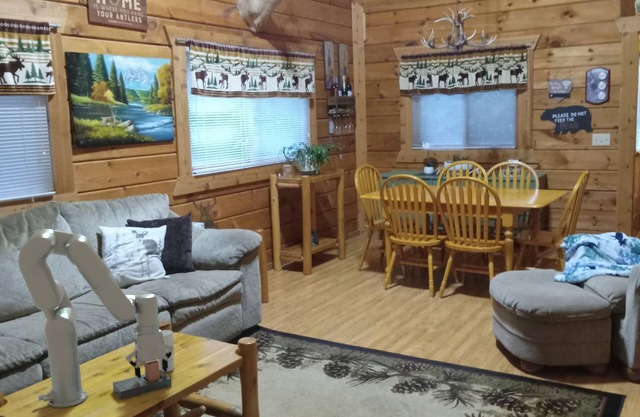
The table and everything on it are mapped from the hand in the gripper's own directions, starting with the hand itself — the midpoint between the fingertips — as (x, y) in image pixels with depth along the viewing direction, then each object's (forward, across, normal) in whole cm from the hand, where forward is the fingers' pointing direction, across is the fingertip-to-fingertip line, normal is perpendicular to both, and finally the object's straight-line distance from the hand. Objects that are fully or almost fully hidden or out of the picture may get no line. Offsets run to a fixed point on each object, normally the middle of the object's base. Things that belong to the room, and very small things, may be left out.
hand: (151, 373), depth 226 cm
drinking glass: (+5, +9, +11) cm, 15 cm away
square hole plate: (+4, -4, 0) cm, 6 cm away
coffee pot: (+5, +12, +30) cm, 33 cm away
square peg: (+4, 0, 0) cm, 5 cm away
